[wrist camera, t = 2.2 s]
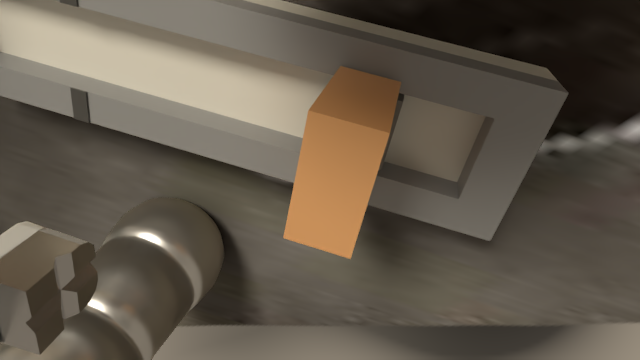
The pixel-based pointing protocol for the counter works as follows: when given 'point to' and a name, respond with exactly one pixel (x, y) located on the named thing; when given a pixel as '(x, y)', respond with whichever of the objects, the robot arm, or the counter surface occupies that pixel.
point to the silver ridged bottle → (140, 284)
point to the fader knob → (341, 159)
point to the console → (285, 92)
